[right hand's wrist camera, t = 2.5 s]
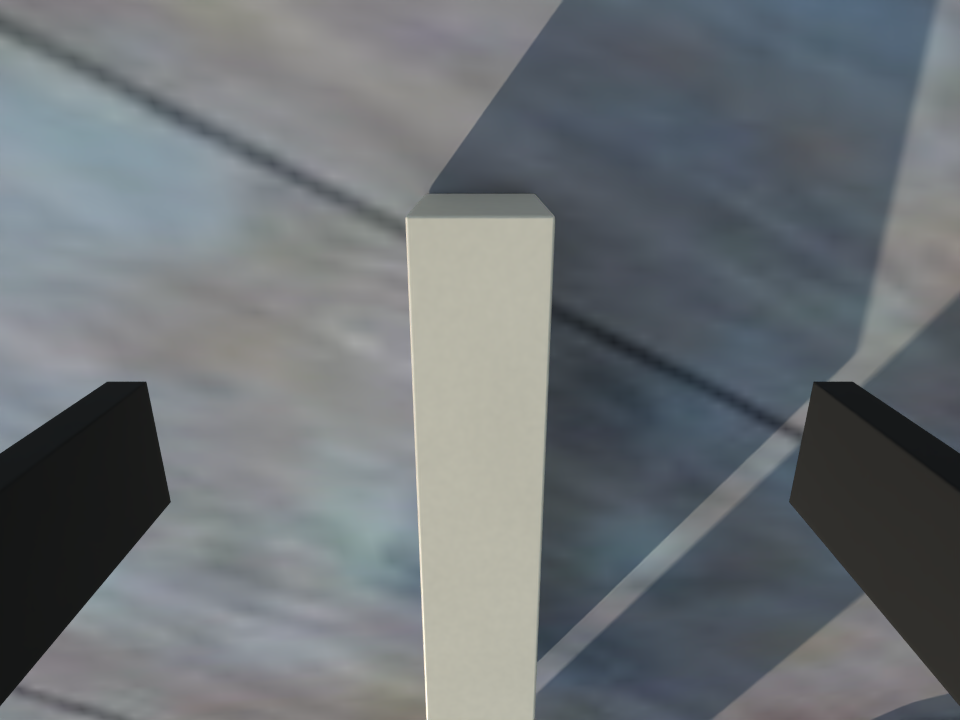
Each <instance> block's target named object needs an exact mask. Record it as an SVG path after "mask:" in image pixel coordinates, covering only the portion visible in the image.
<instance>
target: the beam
mask: <svg viewBox="0 0 960 720" xmlns="http://www.w3.org/2000/svg"><path fill="white" fill-rule="evenodd" d="M554 237H555V216H554V215H553V214H552V213H551V212H550V211H549V209H548V208H547V207H546V206H545V205H544V204H543V203H542V201H541V200H540V199H539V198H538V197H537V196H536V195H535V194H425V195H424V197H423V198H422V199H421V200H420V201H419V202H418V203H417V205H416V206H415V207H414V208H413V209H412V210H411V211H410V213H409V214H408V215H407V216H406V240H407V264H408V288H409V312H410V336H411V360H412V384H413V408H414V432H415V456H416V480H417V504H418V528H419V552H420V576H421V600H422V624H423V648H424V672H425V696H426V720H535V697H536V673H537V649H538V624H539V600H540V576H541V552H542V528H543V503H544V479H545V455H546V431H547V406H548V382H549V358H550V334H551V309H552V285H553V261H554Z"/></svg>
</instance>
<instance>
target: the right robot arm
mask: <svg viewBox="0 0 960 720" xmlns="http://www.w3.org/2000/svg"><path fill="white" fill-rule="evenodd" d="M170 502H171V501H170V496H169V491H168V486H167V481H166V476H165V471H164V466H163V462H162V457H161V452H160V447H159V442H158V437H157V432H156V427H155V422H154V417H153V412H152V407H151V402H150V398H149V393H148V388H147V383H146V382H106V383H105V384H103V385H102V386H100V387H99V388H97V389H96V390H94V391H93V392H91V393H90V394H88V395H87V396H85V397H84V398H82V399H81V400H79V401H78V402H76V403H75V404H73V405H72V406H70V407H69V408H67V409H66V410H64V411H63V412H61V413H60V414H58V415H57V416H55V417H54V418H53V419H51V420H50V421H48V422H47V423H45V424H44V425H42V426H41V427H39V428H38V429H36V430H35V431H33V432H32V433H30V434H29V435H27V436H26V437H24V438H23V439H21V440H20V441H18V442H17V443H15V444H14V445H12V446H11V447H9V448H8V449H6V450H5V451H3V452H2V453H0V706H1V704H2V703H3V702H4V701H5V700H6V698H7V697H8V696H9V695H10V694H11V692H12V691H13V690H14V689H15V688H16V687H17V685H18V684H19V683H20V682H21V681H22V679H23V678H24V677H25V676H26V675H27V673H28V672H29V671H30V670H31V669H32V667H33V666H34V665H35V664H36V663H37V661H38V660H39V659H40V658H41V657H42V655H43V654H44V653H45V652H46V651H47V649H48V648H49V647H50V646H51V645H52V643H53V642H54V641H55V640H56V639H57V637H58V636H59V635H60V634H61V633H62V631H63V630H64V629H65V628H66V627H67V626H68V624H69V623H70V622H71V621H72V620H73V618H74V617H75V616H76V615H77V614H78V612H79V611H80V610H81V609H82V608H83V606H84V605H85V604H86V603H87V602H88V600H89V599H90V598H91V597H92V596H93V594H94V593H95V592H96V591H97V590H98V588H99V587H100V586H101V585H102V584H103V582H104V581H105V580H106V579H107V578H108V576H109V575H110V574H111V573H112V572H113V570H114V569H115V568H116V567H117V566H118V564H119V563H120V562H121V561H122V560H123V559H124V557H125V556H126V555H127V554H128V553H129V551H130V550H131V549H132V548H133V547H134V545H135V544H136V543H137V542H138V541H139V539H140V538H141V537H142V536H143V535H144V533H145V532H146V531H147V530H148V529H149V527H150V526H151V525H152V524H153V523H154V521H155V520H156V519H157V518H158V517H159V515H160V514H161V513H162V512H163V511H164V509H165V508H166V507H167V506H168V505H169V503H170ZM789 502H790V503H791V505H792V506H793V507H794V508H795V509H796V511H797V512H798V513H799V514H800V515H801V517H802V518H803V519H804V520H805V521H806V523H807V524H808V525H809V526H810V527H811V529H812V530H813V531H814V532H815V533H816V535H817V536H818V537H819V538H820V539H821V541H822V542H823V543H824V544H825V545H826V547H827V548H828V549H829V550H830V551H831V553H832V554H833V555H834V556H835V557H836V559H837V560H838V561H839V562H840V563H841V564H842V566H843V567H844V568H845V569H846V570H847V572H848V573H849V574H850V575H851V576H852V578H853V579H854V580H855V581H856V582H857V584H858V585H859V586H860V587H861V588H862V590H863V591H864V592H865V593H866V594H867V596H868V597H869V598H870V599H871V600H872V602H873V603H874V604H875V605H876V606H877V608H878V609H879V610H880V611H881V612H882V614H883V615H884V616H885V617H886V618H887V620H888V621H889V622H890V623H891V624H892V626H893V627H894V628H895V629H896V630H897V631H898V633H899V634H900V635H901V636H902V637H903V639H904V640H905V641H906V642H907V643H908V645H909V646H910V647H911V648H912V649H913V651H914V652H915V653H916V654H917V655H918V657H919V658H920V659H921V660H922V661H923V663H924V664H925V665H926V666H927V667H928V669H929V670H930V671H931V672H932V673H933V675H934V676H935V677H936V678H937V679H938V681H939V682H940V683H941V684H942V685H943V687H944V688H945V689H946V690H947V691H948V692H949V694H950V695H951V696H952V697H953V698H954V700H955V701H956V702H957V703H958V704H959V706H960V453H958V452H957V451H955V450H954V449H952V448H951V447H949V446H948V445H946V444H945V443H943V442H942V441H940V440H939V439H937V438H936V437H934V436H933V435H931V434H930V433H928V432H927V431H925V430H924V429H922V428H921V427H919V426H918V425H916V424H915V423H913V422H912V421H910V420H909V419H907V418H906V417H905V416H903V415H902V414H900V413H899V412H897V411H896V410H894V409H893V408H891V407H890V406H888V405H887V404H885V403H884V402H882V401H881V400H879V399H878V398H876V397H875V396H873V395H872V394H870V393H869V392H867V391H866V390H864V389H863V388H861V387H860V386H858V385H857V384H855V383H854V382H814V383H813V388H812V393H811V398H810V402H809V407H808V412H807V417H806V422H805V427H804V432H803V437H802V442H801V447H800V452H799V457H798V462H797V466H796V471H795V476H794V481H793V486H792V491H791V496H790V501H789Z"/></svg>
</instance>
